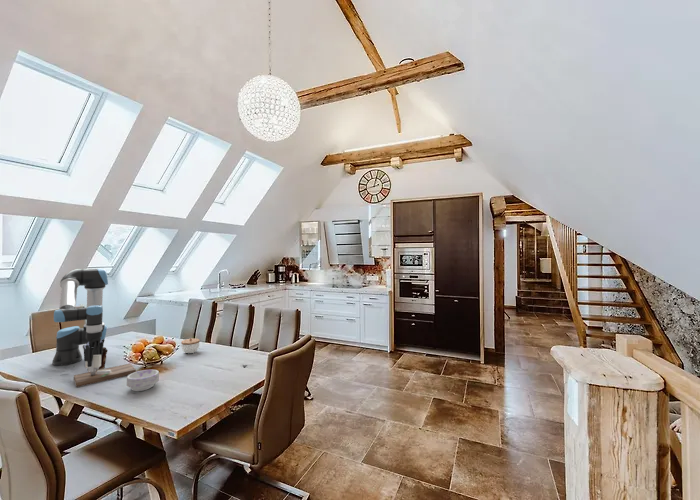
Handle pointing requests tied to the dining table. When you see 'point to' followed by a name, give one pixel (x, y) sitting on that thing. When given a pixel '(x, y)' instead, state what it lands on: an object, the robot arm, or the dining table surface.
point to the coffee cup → (103, 358)
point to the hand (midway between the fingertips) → (93, 370)
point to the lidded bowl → (190, 345)
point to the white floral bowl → (142, 379)
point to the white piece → (96, 365)
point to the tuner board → (103, 375)
